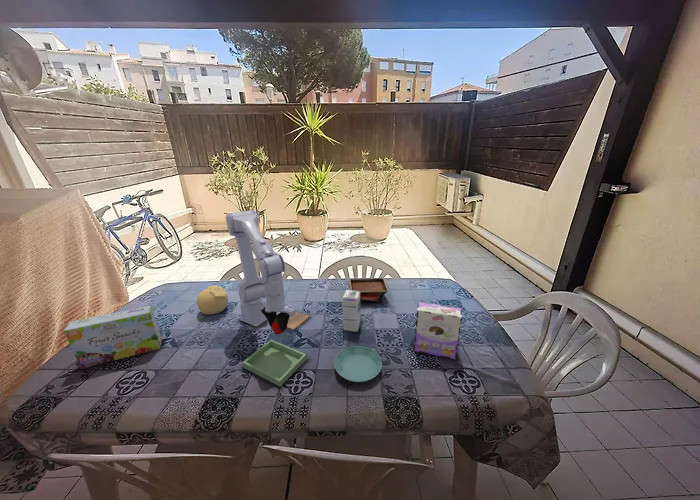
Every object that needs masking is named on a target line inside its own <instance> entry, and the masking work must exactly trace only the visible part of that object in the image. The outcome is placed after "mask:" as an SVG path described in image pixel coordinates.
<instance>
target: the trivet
mask: <svg viewBox="0 0 700 500" xmlns="http://www.w3.org/2000/svg"><path fill="white" fill-rule="evenodd" d="M309 319H311V318H310V315H309V314H308V315H307V314H305V313H302V312H299V311H296V314H295V315H294V316H293V317H290V318H289V320H288V324H287V329H289V330H292V331H295V330H296V329H297V328H298V327H300V326H302V325H303V324H304V323H305V322H307V321H308V320H309Z"/></svg>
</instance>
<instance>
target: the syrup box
mask: <svg viewBox="0 0 700 500" xmlns="http://www.w3.org/2000/svg"><path fill="white" fill-rule="evenodd" d="M341 300H342V301H341V302H342V327H343V328H342V329H343V331H348V332H356V333H357V332H359V329H360V326H361V301H360V291H355V290H350V289H345V292H344V293H343V295H342V299H341Z"/></svg>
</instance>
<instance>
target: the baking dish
mask: <svg viewBox="0 0 700 500" xmlns="http://www.w3.org/2000/svg"><path fill="white" fill-rule="evenodd" d="M347 285H348V288H349V289H348V290H355V291H360V302H362V301H368V302H377V303H379V304H381V303H382V299H383V297H384V296H385V295H386V293H388V292H389V290H390V287H389V285H388V283H387V281H386V279H385V278H383V277H370V278H369V277H368V278H366V277H365V278H350V279H349V280H348V284H347Z"/></svg>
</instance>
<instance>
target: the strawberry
mask: <svg viewBox="0 0 700 500" xmlns="http://www.w3.org/2000/svg"><path fill="white" fill-rule="evenodd" d="M271 330H272V332H274V334H275V335H282V334H283V333H284V332H281V330H280V326H279V322H278V320H277V318H276V319H275V321H274V322H273V323H272V328H271Z"/></svg>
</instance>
